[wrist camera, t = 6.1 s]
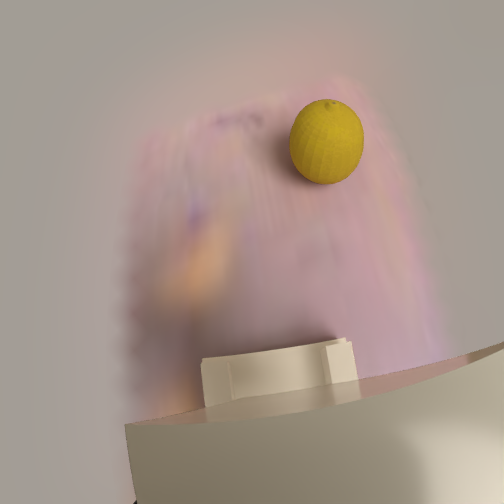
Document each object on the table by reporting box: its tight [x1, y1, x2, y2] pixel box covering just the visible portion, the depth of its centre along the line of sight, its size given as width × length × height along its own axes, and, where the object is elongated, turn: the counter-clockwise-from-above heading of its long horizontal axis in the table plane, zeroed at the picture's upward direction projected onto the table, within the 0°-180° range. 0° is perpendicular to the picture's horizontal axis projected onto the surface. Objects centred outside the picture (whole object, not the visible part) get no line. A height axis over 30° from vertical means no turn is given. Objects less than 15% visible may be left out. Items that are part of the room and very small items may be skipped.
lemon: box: [289, 99, 364, 184], centre depth 22 cm, size 6×6×8 cm
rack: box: [200, 338, 358, 408], centre depth 17 cm, size 9×9×4 cm
